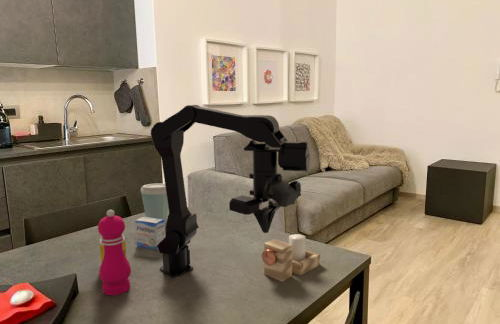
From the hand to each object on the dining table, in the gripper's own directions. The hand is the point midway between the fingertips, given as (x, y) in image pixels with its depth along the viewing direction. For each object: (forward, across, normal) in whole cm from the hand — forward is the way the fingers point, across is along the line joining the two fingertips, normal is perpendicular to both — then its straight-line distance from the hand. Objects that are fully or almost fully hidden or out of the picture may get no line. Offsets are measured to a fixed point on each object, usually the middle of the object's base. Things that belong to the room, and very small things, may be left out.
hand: (265, 232), depth 94 cm
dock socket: (+13, +10, 0) cm, 16 cm away
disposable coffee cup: (+13, +5, +56) cm, 58 cm away
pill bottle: (+13, -22, +35) cm, 44 cm away
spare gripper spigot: (+13, +13, 0) cm, 18 cm away
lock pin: (+9, +5, 0) cm, 10 cm away
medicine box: (+13, -7, +41) cm, 44 cm away
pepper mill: (+13, -27, +24) cm, 39 cm away
